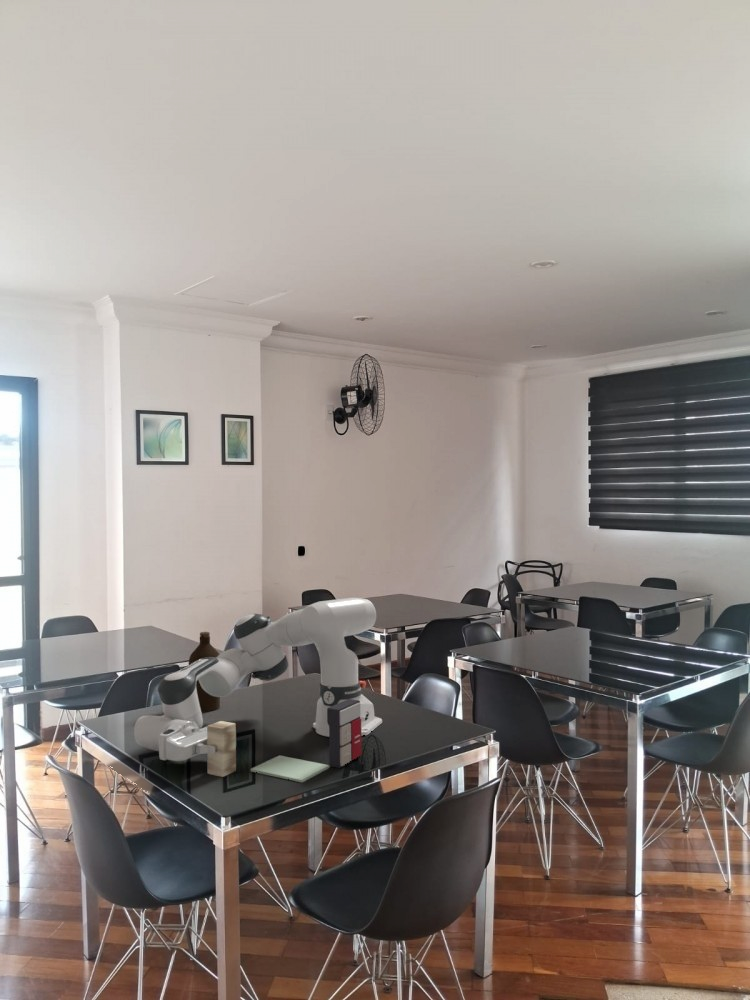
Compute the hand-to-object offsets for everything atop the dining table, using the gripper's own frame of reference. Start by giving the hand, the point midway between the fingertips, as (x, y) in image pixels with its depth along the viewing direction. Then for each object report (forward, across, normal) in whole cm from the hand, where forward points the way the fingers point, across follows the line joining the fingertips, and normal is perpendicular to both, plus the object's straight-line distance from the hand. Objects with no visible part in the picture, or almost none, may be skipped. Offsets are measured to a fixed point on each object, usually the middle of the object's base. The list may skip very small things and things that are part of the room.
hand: (224, 746), depth 197 cm
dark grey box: (+22, -22, -7) cm, 32 cm away
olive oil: (-47, -44, -7) cm, 65 cm away
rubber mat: (+13, -10, -7) cm, 18 cm away
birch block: (-1, 0, -7) cm, 7 cm away
